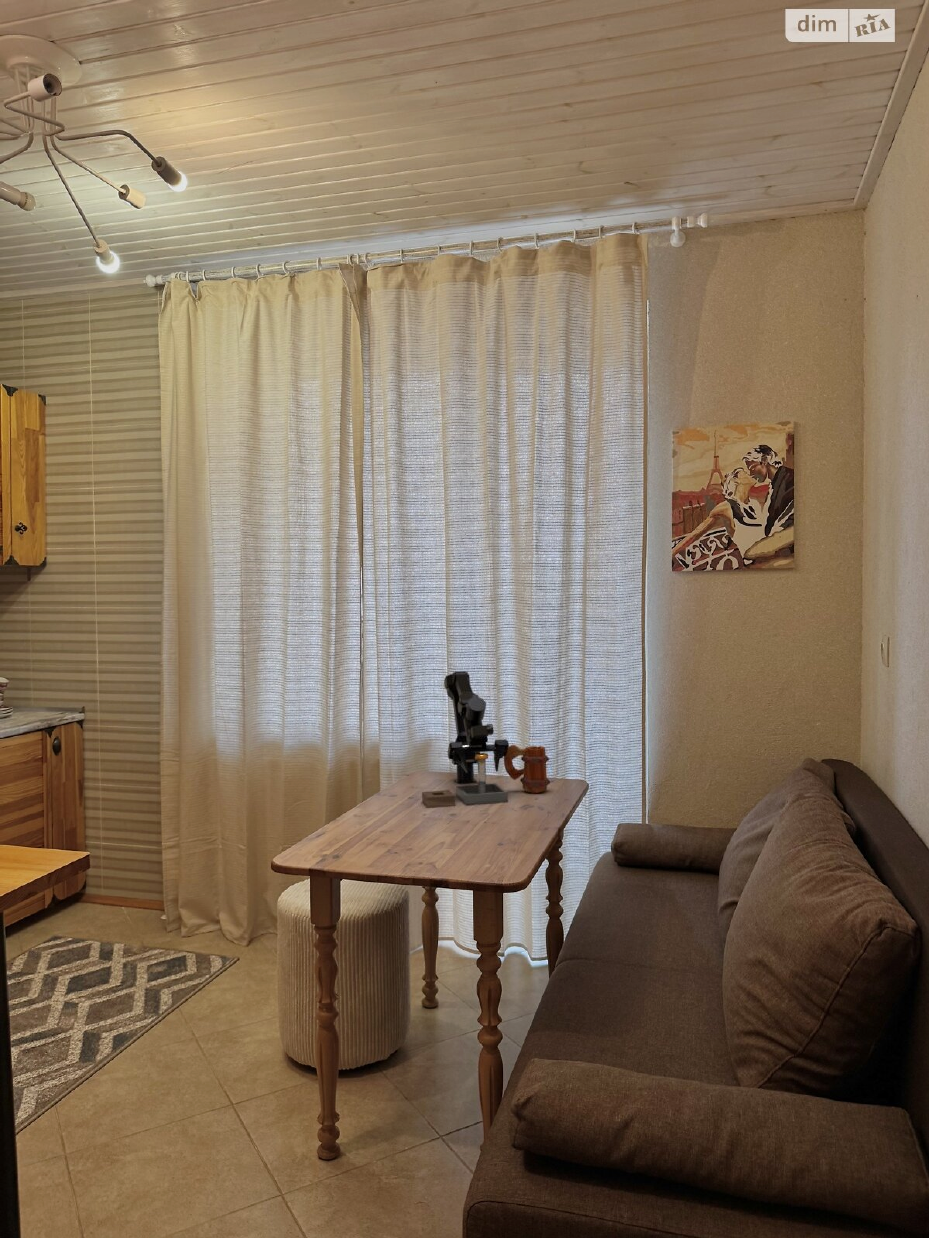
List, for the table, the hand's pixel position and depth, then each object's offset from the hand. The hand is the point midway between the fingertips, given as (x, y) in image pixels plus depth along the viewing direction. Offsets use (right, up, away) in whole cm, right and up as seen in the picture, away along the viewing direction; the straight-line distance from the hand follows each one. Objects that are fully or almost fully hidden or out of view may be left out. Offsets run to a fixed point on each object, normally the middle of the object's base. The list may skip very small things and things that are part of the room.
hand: (482, 771), depth 279 cm
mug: (+15, -8, +11) cm, 20 cm away
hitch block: (-13, -9, -3) cm, 16 cm away
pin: (0, -8, +2) cm, 8 cm away
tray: (0, -9, +3) cm, 9 cm away
